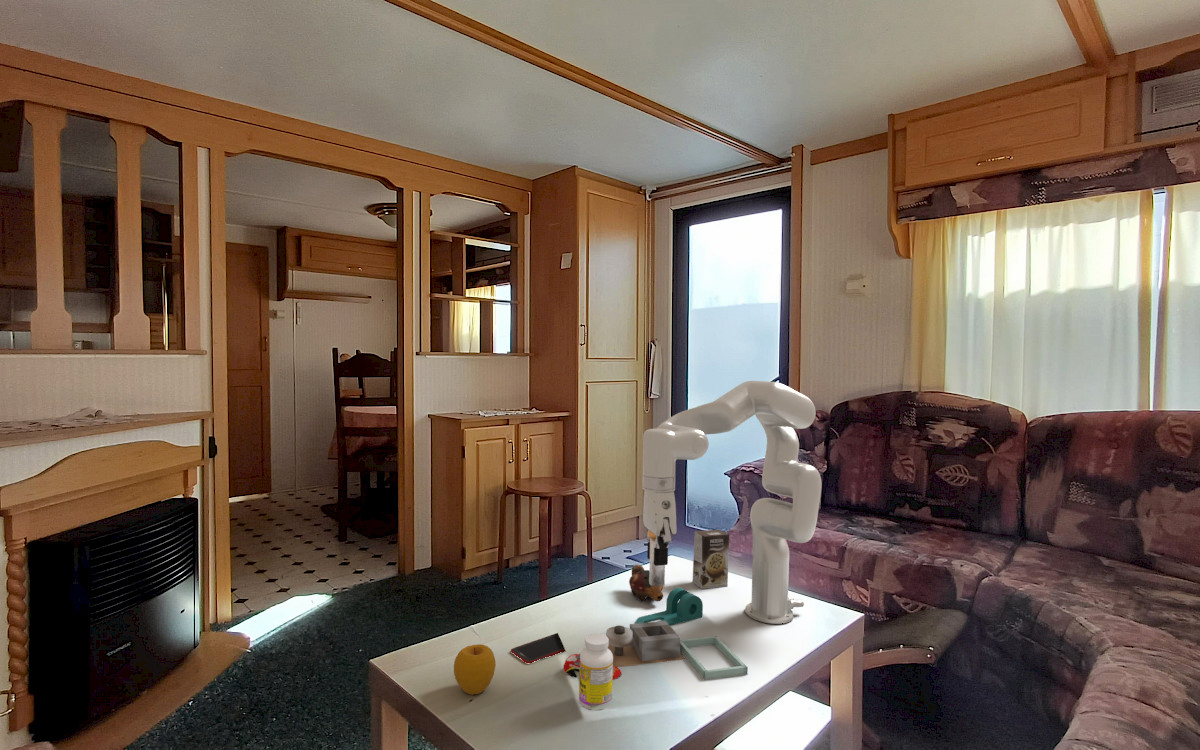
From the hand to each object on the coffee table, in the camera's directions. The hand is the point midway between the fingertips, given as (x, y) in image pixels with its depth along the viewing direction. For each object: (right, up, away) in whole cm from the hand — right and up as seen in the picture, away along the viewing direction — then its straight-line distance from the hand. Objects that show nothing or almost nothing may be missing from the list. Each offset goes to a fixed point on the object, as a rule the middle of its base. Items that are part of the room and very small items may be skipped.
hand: (657, 561), depth 139 cm
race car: (-15, -23, -9) cm, 28 cm away
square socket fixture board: (-4, -22, 0) cm, 22 cm away
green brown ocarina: (0, -22, +35) cm, 41 cm away
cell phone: (-26, -22, +3) cm, 35 cm away
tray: (+12, -23, -3) cm, 26 cm away
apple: (-39, -22, -15) cm, 47 cm away
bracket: (+4, -22, +17) cm, 29 cm away
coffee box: (+21, -22, +47) cm, 56 cm away
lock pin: (0, -5, 0) cm, 5 cm away
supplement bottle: (-14, -23, -19) cm, 33 cm away
